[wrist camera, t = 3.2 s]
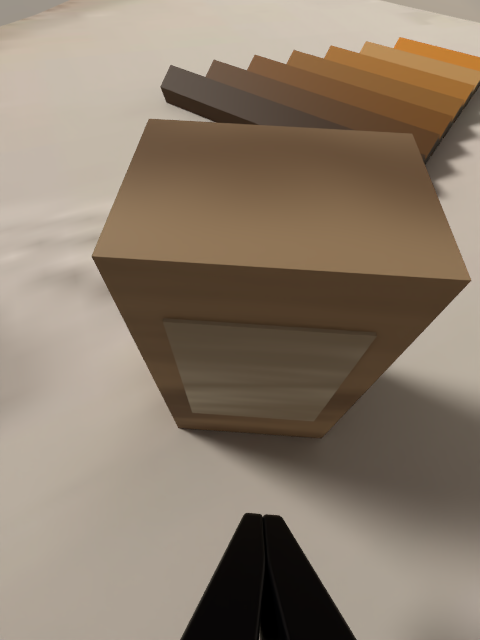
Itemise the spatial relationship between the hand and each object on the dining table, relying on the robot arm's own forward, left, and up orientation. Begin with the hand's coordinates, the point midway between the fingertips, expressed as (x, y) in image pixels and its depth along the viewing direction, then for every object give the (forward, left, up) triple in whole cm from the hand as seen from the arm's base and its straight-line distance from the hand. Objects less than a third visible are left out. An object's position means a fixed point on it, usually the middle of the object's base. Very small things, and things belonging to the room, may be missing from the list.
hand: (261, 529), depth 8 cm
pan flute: (+40, -7, -8) cm, 41 cm away
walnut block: (+7, 0, -8) cm, 10 cm away
